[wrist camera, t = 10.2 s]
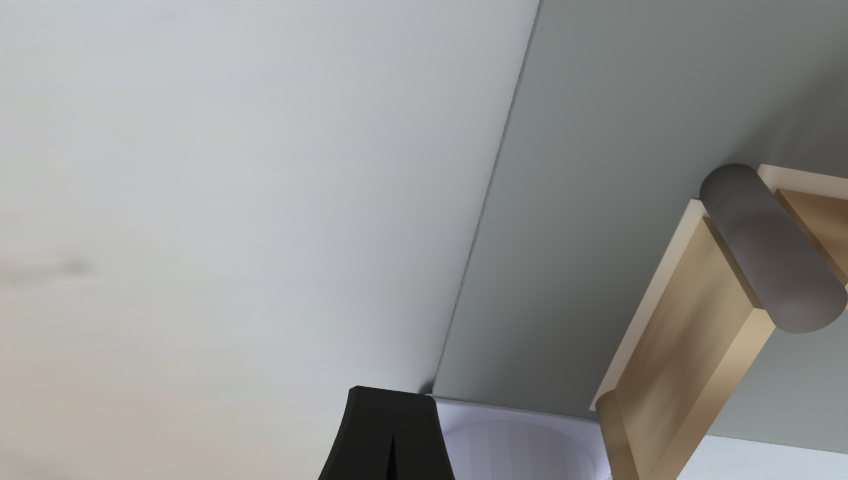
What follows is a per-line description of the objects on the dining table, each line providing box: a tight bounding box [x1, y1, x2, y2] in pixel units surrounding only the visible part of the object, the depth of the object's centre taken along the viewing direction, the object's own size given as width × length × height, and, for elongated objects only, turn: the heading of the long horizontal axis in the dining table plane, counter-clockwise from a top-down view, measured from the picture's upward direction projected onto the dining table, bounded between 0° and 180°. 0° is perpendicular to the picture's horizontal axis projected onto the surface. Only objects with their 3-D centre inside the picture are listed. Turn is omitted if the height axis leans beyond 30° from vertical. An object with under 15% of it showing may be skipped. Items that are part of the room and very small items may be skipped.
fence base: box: [595, 163, 848, 480], centre depth 20 cm, size 11×2×5 cm, turn 170°
